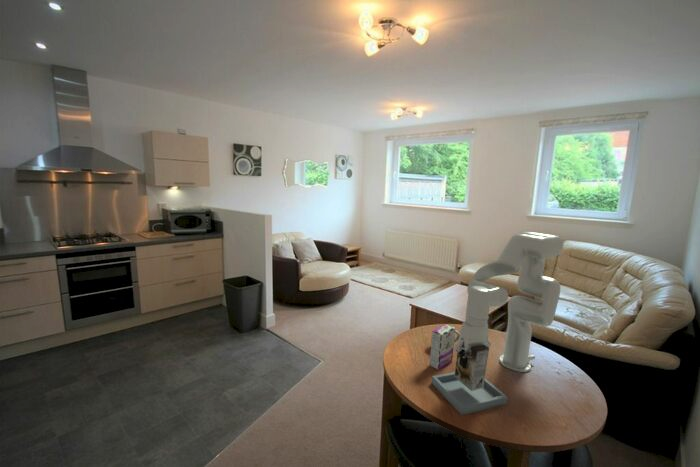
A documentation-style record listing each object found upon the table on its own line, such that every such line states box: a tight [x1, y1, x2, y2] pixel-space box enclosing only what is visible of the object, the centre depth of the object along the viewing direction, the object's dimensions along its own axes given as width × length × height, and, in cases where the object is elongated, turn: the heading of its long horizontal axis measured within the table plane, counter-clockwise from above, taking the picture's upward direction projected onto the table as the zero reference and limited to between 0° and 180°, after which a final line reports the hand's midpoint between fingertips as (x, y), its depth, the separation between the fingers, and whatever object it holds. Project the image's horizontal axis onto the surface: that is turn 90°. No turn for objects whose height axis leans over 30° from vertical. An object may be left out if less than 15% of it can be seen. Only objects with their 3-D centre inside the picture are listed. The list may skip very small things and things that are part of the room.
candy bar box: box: [429, 323, 456, 371], centre depth 136 cm, size 11×5×16 cm, turn 131°
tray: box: [431, 371, 509, 416], centre depth 118 cm, size 20×18×3 cm
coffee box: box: [454, 345, 490, 391], centre depth 116 cm, size 9×6×16 cm
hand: (470, 364), depth 117 cm, fingers closed on coffee box, 6 cm apart
